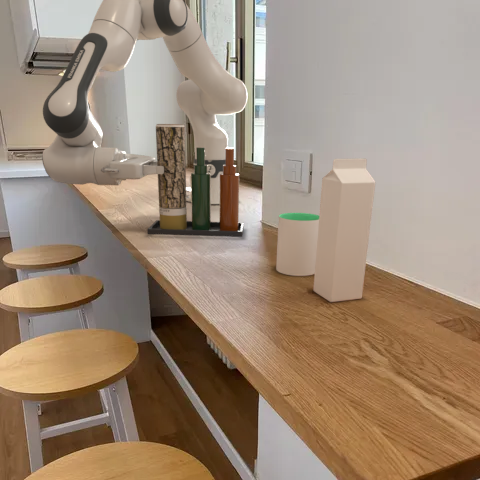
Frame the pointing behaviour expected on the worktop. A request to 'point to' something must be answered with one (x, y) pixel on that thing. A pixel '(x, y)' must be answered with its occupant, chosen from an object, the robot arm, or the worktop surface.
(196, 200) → the green bottle
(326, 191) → the milk
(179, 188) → the paper tube
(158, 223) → the tray
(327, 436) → the worktop surface
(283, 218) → the mug
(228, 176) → the amber bottle
